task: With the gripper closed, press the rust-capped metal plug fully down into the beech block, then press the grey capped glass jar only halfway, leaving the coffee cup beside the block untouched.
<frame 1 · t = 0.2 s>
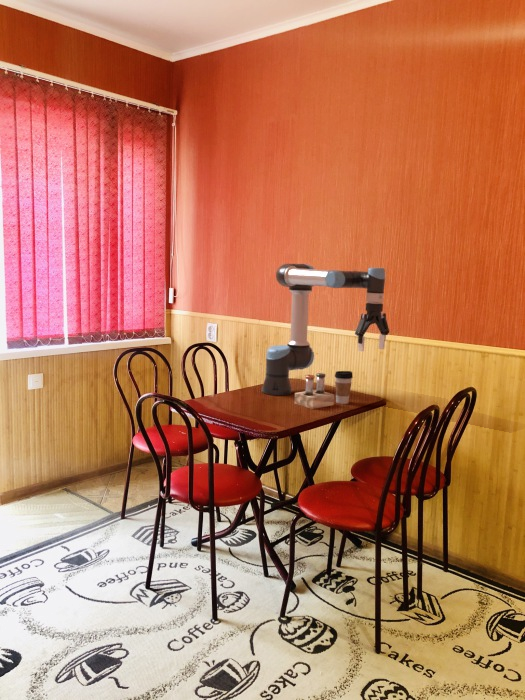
hand: (371, 349, 256), 28 cm above the table, fingers open, 13 cm apart
grey capped glass jar: (320, 383, 268), point 9 cm above the table, slide at 0.0 cm
beech block: (314, 404, 267), on the table
coffee cup: (342, 402, 273), on the table
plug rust: (309, 385, 264), point 9 cm above the table, slide at 0.0 cm
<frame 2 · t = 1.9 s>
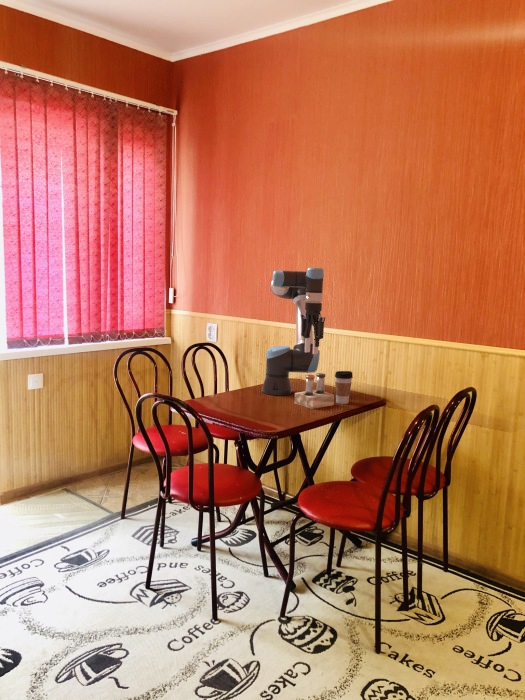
hand: (311, 352, 261), 25 cm above the table, fingers open, 4 cm apart
nothing on the table moved.
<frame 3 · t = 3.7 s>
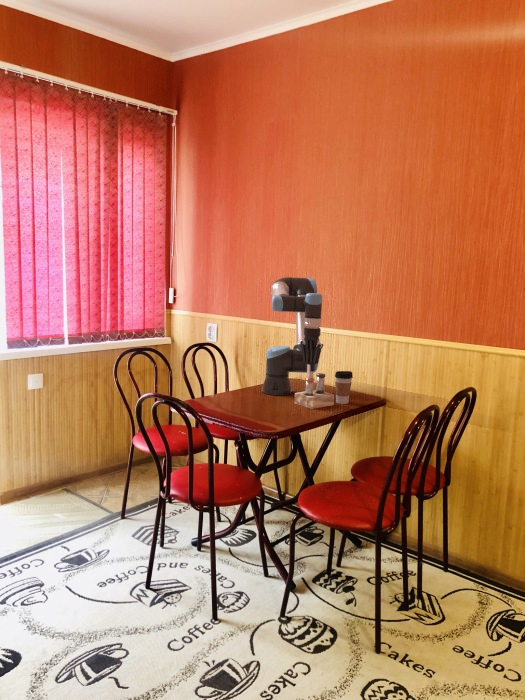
hand: (309, 378, 263), 13 cm above the table, fingers closed
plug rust: (309, 388, 264), point 8 cm above the table, slide at 1.4 cm, touching gripper
everything else where it was.
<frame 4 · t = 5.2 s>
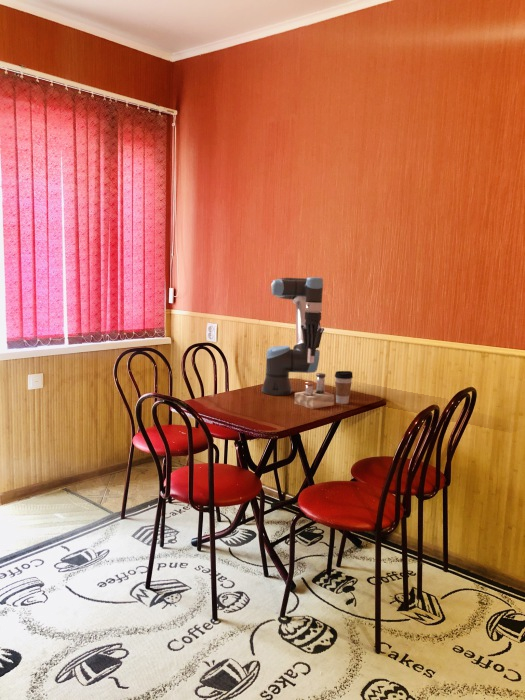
hand: (310, 362, 262), 20 cm above the table, fingers closed
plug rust: (309, 391, 264), point 6 cm above the table, slide at 3.0 cm
everything else where it was.
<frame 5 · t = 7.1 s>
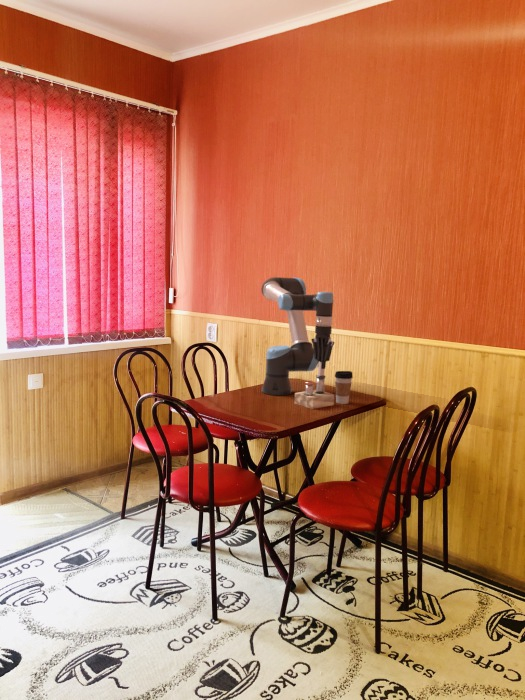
hand: (321, 375, 268), 14 cm above the table, fingers closed
grey capped glass jar: (320, 385, 268), point 9 cm above the table, slide at 0.8 cm, touching gripper
everything else where it was.
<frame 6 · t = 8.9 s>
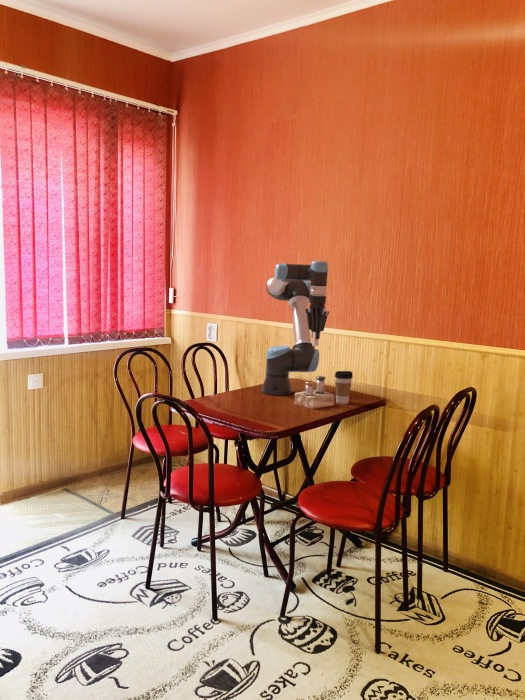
hand: (315, 345, 266), 27 cm above the table, fingers closed
grey capped glass jar: (320, 386, 268), point 8 cm above the table, slide at 1.4 cm
everything else where it was.
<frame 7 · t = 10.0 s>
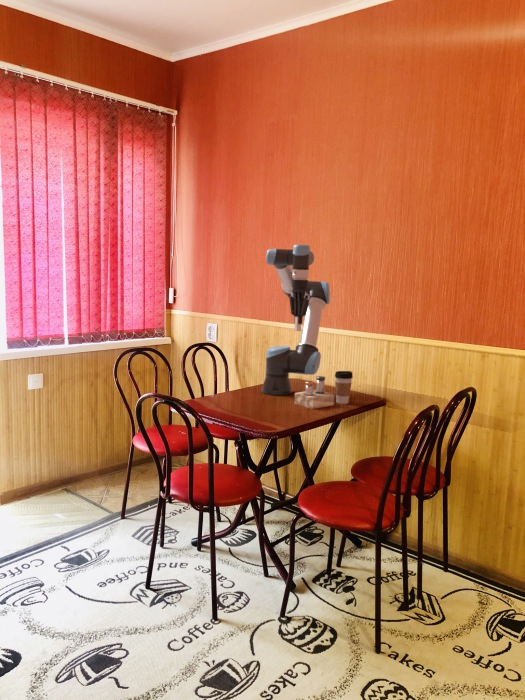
hand: (297, 330, 262), 34 cm above the table, fingers closed
nothing on the table moved.
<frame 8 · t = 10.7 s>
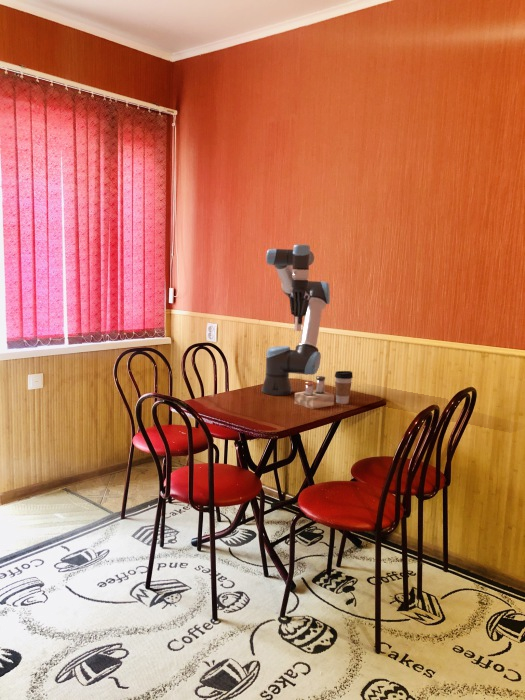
hand: (297, 330, 262), 34 cm above the table, fingers closed
nothing on the table moved.
at the end: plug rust slide at 3.0 cm; grey capped glass jar slide at 1.4 cm; coffee cup moved 0.2 cm from its start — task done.
